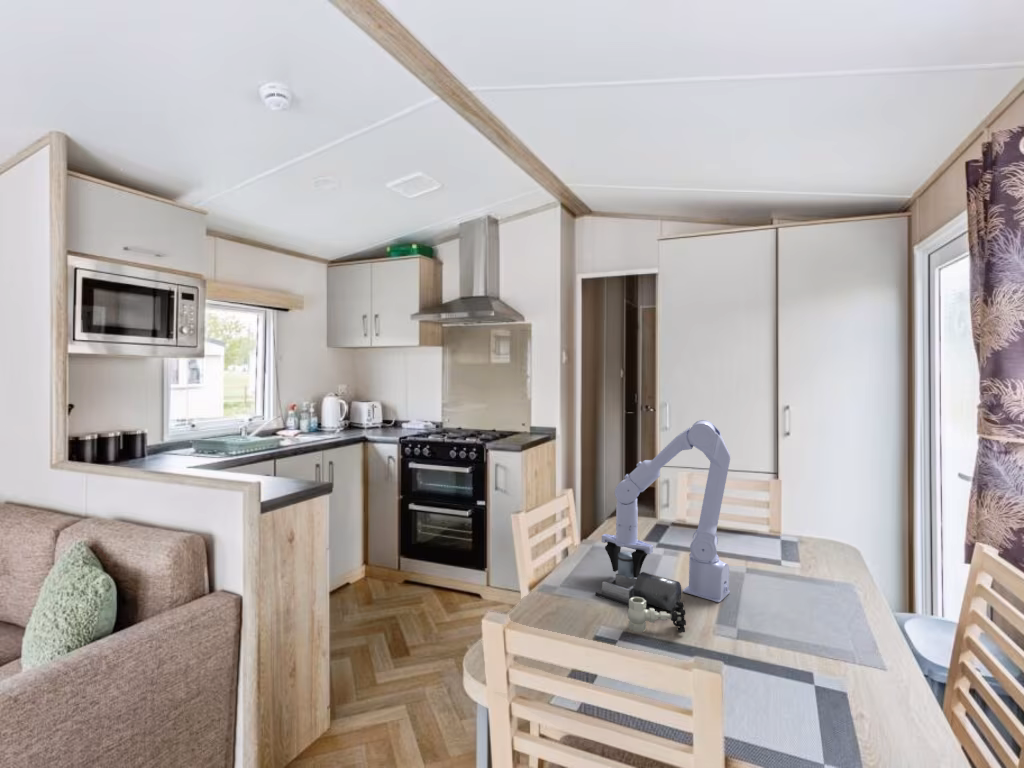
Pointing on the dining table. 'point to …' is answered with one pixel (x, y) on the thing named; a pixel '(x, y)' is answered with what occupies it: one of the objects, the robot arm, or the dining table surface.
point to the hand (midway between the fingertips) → (626, 573)
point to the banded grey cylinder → (625, 564)
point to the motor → (643, 590)
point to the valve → (652, 615)
